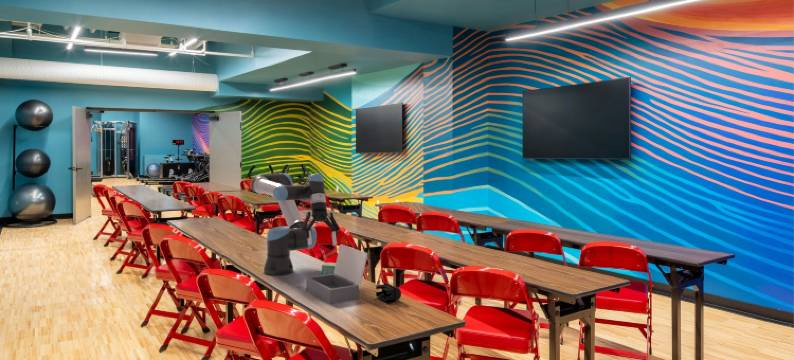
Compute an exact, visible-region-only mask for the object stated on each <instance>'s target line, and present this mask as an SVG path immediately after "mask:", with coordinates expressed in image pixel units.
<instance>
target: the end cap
mask: <svg viewBox="0 0 794 360" xmlns="http://www.w3.org/2000/svg"><path fill="white" fill-rule="evenodd" d="M375 290H381V291H376V292H375V296H376V300H378V301H379V302H382V303H384V304H385V305H391V304H395V303H397V301H399V300H400V299H401V297H402V291H401V289H400V288H399V287H397V286H395V285H393V284H391V283H388V282H383V284H378V285H376V286H375Z"/></svg>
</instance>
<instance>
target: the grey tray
mask: <svg viewBox="0 0 794 360" xmlns="http://www.w3.org/2000/svg"><path fill="white" fill-rule="evenodd" d="M305 279H306V280H305V283H306V285H305V286H306V287H305V290H306V292H308V293H311V294H312V295H314V296H315V297H317V298H318V299H320V300H322V301H324V302H326V303H328V305H331V304H338V303H339V304H340V303H344V302H349V301H356V300H360V285H358V284H356V283H354V282H352V281H349V280H346V279H344V278H342V277H340V276H338V275H335V274H329V275H322V274H321V275H317V276H316V275H315V276H309V277H307V276H306V278H305Z"/></svg>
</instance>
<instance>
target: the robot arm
mask: <svg viewBox="0 0 794 360" xmlns="http://www.w3.org/2000/svg"><path fill="white" fill-rule="evenodd" d="M250 187H251V190H252V191H253V192H254V193H256V194H259V195H263V194H264V195H267V196H271V197H272V198H273V199H274V200H276V201H277V203H278V206H279V208H280V210H281V212H282V215H283V217H284V219H285V221H286V224H287V226H285V225H282V226H276V227H272V228H269V230H267V232H266V235H267V236H266V252H267V253H266V260H265V263H264V266H263V274H265V275H270V276H282V275H283V276H284V275H289V274H292V273H294V266H293V262H292V258H291V251H299V250H308V249H313V248H314V247H315V245H316V243H317V237H318V236H317V231H316V228H315V227H314V226H313V225H314V224H315V223H316V222H317V223H319V222H320V223H322V222H323V223H325V224H326V225H327V227H328V228H329V229H330V230H331V231H332V232H331V239H332V245H333V246H335V245H337V244H338V241H337V238H338V232H339V231H340V230H341V228H340V226H339V224H338V222H337V221H336V219H335V217H334V214H333V212H329V213H328V212H327V200H326V191H325V181H324V176H323V174H321V173H312V174H310V175H309V176H308V182H307V183H306V184H297V185H296V184H295V185H294V183H293V179H292V177H291V176H290V174H288V173H282V172H279V173H260V174H257V175H255V176H254V177H252V179H251V182H250ZM298 200H300V201H302V202H304V203H305V202H308V201H310V209H311V211H307V212H306V213H305V218H304V220H303V217H302V214H301V213H300V211H299V209H298V206H297V204H296V202H295V201H298ZM311 217H312V219H311V221H309V220H310V218H311ZM309 222H310V223H309ZM308 223H309V224H308Z"/></svg>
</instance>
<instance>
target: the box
mask: <svg viewBox="0 0 794 360" xmlns="http://www.w3.org/2000/svg"><path fill="white" fill-rule="evenodd" d="M335 266H336V262H325V263H323V264H321V275H329V274H334V270H335ZM335 275H336V274H335ZM340 277H341V276H340ZM342 278H343V277H342ZM344 279H345V278H344ZM346 280H347V279H346Z"/></svg>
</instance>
